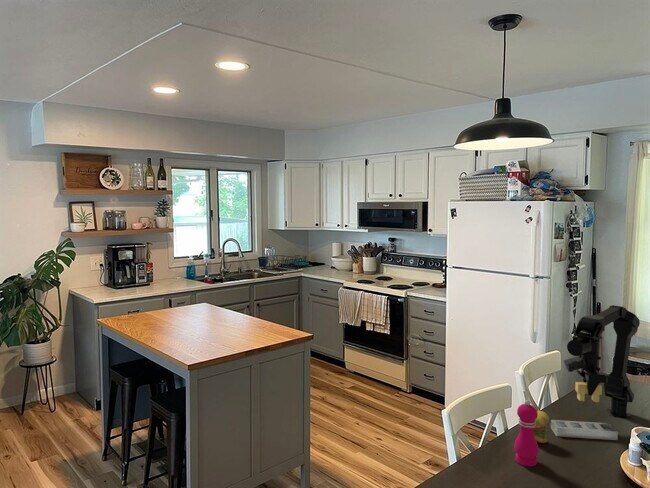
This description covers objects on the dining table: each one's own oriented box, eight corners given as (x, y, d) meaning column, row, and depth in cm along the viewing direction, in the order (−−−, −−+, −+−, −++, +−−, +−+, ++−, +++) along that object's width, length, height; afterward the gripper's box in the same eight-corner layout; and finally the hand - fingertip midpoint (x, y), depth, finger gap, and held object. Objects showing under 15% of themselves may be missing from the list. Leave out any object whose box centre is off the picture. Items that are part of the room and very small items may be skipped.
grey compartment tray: (556, 436, 174) (556, 427, 174) (550, 427, 181) (550, 419, 181) (617, 440, 171) (617, 431, 171) (609, 431, 178) (609, 423, 178)
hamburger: (552, 446, 167) (553, 411, 166) (532, 447, 166) (533, 412, 165) (540, 436, 174) (541, 403, 174) (521, 437, 174) (522, 403, 173)
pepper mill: (540, 468, 152) (542, 405, 151) (516, 466, 154) (517, 403, 152) (535, 457, 159) (537, 396, 158) (512, 455, 161) (513, 395, 160)
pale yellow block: (577, 400, 180) (578, 384, 180) (574, 397, 183) (575, 381, 183) (601, 402, 179) (601, 386, 179) (598, 399, 182) (598, 383, 182)
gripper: (559, 344, 191) (557, 383, 192) (574, 357, 172) (572, 401, 173) (590, 345, 189) (588, 385, 190) (609, 359, 170) (607, 404, 171)
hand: (588, 393), depth 181 cm, fingers closed on pale yellow block, 3 cm apart
